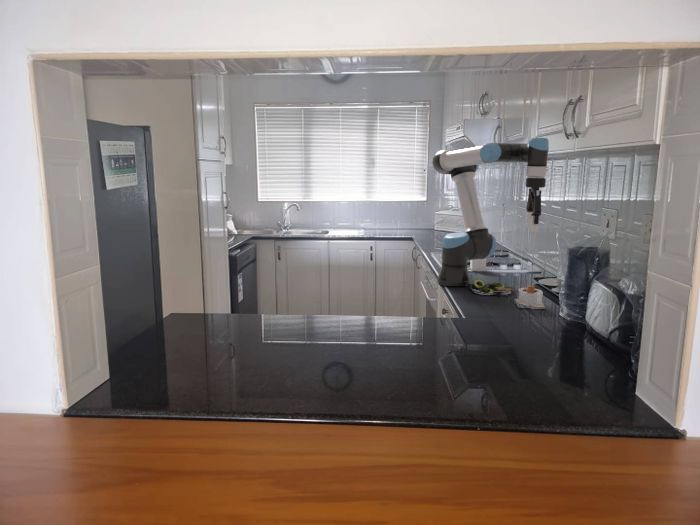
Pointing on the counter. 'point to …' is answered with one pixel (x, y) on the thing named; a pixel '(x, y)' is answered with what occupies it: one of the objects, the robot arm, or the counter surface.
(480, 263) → the medicine bottle
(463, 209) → the robot arm
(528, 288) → the keeper
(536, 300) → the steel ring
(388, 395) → the counter surface
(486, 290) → the salad plate
